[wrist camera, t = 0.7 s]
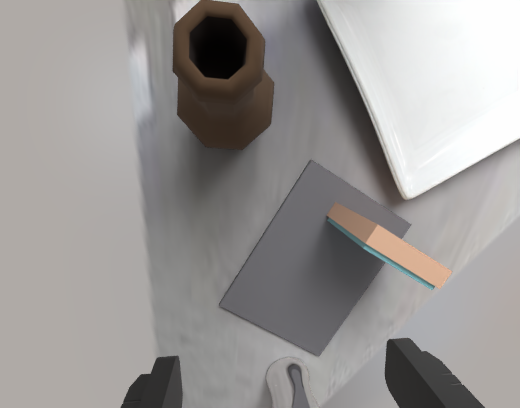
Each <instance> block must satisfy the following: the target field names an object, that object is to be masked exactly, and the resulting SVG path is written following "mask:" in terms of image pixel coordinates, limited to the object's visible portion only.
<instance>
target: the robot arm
mask: <svg viewBox="0 0 520 408" xmlns="http://www.w3.org/2000/svg"><path fill="white" fill-rule="evenodd" d="M385 363H386V364H385V380H386V384H387V386H388V389H389V391H390V393H391V394H392V396H393V398H394V400H395V401H396V403H397V404H398V406H399V408H485V407H484V406H483V405H482V404H481V403H480V402H479V401H478V400H477V399H476V398H475V397H474V396H473V395H472V393H471V392H470V391H468V389H467V388H466V387H465V386H464V385H462V384H461V382H460V381H459V380H458V379H457V377H456V376H455V375H452V372H451V371H450V370H449V369H448V368H447V367H446V366H445V365H444V364H443V363H442V361H440V360H439V359H437V358H436V357H434V356H433V355H431V354H430V353H428V352H427V351H423V352H422V351H421V350H420V349H419V348H418V347H417V346H416V344H415V343H414V342H413V341H412V340H411V339H409V338H401V339H389V340H388V341H387V349H386V362H385ZM182 396H183V393H182V381H181V371H180V361H179V357H178V356H168V357H158V358H157V359H156V361H155V363H154V366H153V369H152V372H151V374H142V375H140V376H139V377H138V378H137V380H136V381H135V382H134V383H133V384H132V385H131V386H130V387H129V390H128V392H127V394H126V397H125V399H124V402H123V404H122V406H121V408H182Z"/></svg>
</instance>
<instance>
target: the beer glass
mask: <svg viewBox="0 0 520 408" xmlns="http://www.w3.org/2000/svg"><path fill="white" fill-rule="evenodd" d="M266 382H267V385H268V388H269V390H270V393H271V396H272V403H273V408H320V406H319V405H318V403H317V401H316V399H315V397H314V395H313V393H312V390H311V387H310V379H309V372H308V369H307V367H306V365H305V364H304V363H303V362H302V361H301V360H299V359H296V358H291V357H287V358H282V359H279V360H277V361H276V362H274V363H273V364H272V365H271V366H270V368H269V369H268V371H267V375H266Z"/></svg>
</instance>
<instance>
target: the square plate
mask: <svg viewBox="0 0 520 408" xmlns="http://www.w3.org/2000/svg"><path fill="white" fill-rule="evenodd" d="M317 3H318V5H319V7H320V9H321V12H322V14H323V16H324V18H325V20H326V22H327V24H328V26H329V28H330V30H331V33H332V35H333V37H334V39H335V41H336V43H337V45H338V47H339V49H340V51H341V53H342V55H343V58H344V60H345V62H346V64H347V66H348V68H349V71H350V73H351V75H352V77H353V79H354V81H355V84H356V86H357V88H358V90H359V93H360V95H361V97H362V100H363V102H364V104H365V107H366V109H367V111H368V114H369V116H370V119H371V121H372V124H373V126H374V129H375V131H376V134H377V137H378V139H379V142H380V145H381V147H382V150H383V153H384V155H385V158H386V161H387V163H388V166H389V169H390V171H391V174H392V176H393V179H394V181H395V184H396V186H397V189H398V191H399V193H400V195H401V197H402V198H403V199H404V200H410V199H412V198H414V197H416V196H418V195H420V194H422V193H424V192H426V191H428V190H429V189H431V188H433V187H435V186H437V185H438V184H440V183H442V182H444V181H445V180H447V179H449V178H451V177H452V176H454V175H456V174H458V173H459V172H461V171H463V170H465V169H466V168H468V167H470V166H472V165H473V164H475V163H477V162H479V161H480V160H482V159H484V158H486V157H488V156H489V155H491V154H493V153H495V152H497V151H498V150H500V149H502V148H504V147H506V146H508V145H509V144H511V143H513V142H515V141H517V140H519V139H520V0H317Z"/></svg>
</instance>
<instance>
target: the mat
mask: <svg viewBox="0 0 520 408" xmlns="http://www.w3.org/2000/svg"><path fill="white" fill-rule="evenodd" d="M335 202H336V203H338V204H340V205H342V206H344V207H346V208H348V209H350V210H352V211H353V212H355V213H357V214H359V215H361V216H363V217H365V218H367V219H369V220H370V221H372V222H374V223H376V224H378V225H380V226H381V227H383V228H384V229H386V230H387V231H389V232H391V233H392V234H394V235H395V236H397V237H398V238H400V239H402V238H403V236H404V235H405V233H406V232H407V230H408V229H409V228H410V226H411V224H410V223H408V222H406V221H405V220H403V219H402V218H400V217H399V216H397V215H396V214H394V213H393V212H391V211H390V210H388V209H386V208H385V207H383V206H382V205H380V204H379V203H377V202H376V201H374V200H373V199H371V198H370V197H368V196H366V195H365V194H363V193H362V192H360V191H359V190H357V189H356V188H354V187H353V186H351V185H350V184H348V183H346V182H345V181H343V180H342V179H340V178H339V177H337V176H336V175H334V174H333V173H331V172H330V171H328V170H326V169H325V168H323V167H322V166H320V165H319V164H317V163H316V162H314V161H313V160H310V161H309V163H308V165H307V166H306V168H305V169H304V171H303V172H302V174H301V176H300V177H299V179H298V180H297V182H296V183H295V185H294V187H293V188H292V190H291V191H290V193H289V195H288V196H287V198H286V199H285V201H284V202H283V204H282V206H281V207H280V209H279V210H278V212H277V213H276V215H275V217H274V218H273V220H272V221H271V223H270V224H269V226H268V228H267V229H266V231H265V232H264V234H263V236H262V237H261V239H260V240H259V242H258V243H257V245H256V247H255V248H254V250H253V251H252V253H251V254H250V256H249V258H248V259H247V261H246V262H245V264H244V266H243V267H242V269H241V270H240V272H239V273H238V275H237V277H236V278H235V280H234V281H233V283H232V284H231V286H230V288H229V289H228V291H227V292H226V294H225V295H224V297H223V299H222V300H221V302H220V303H219V306H221V307H223V308H225V309H227V310H229V311H231V312H233V313H235V314H236V315H238V316H240V317H242V318H244V319H246V320H248V321H250V322H252V323H254V324H256V325H258V326H260V327H262V328H264V329H266V330H268V331H270V332H272V333H274V334H276V335H278V336H280V337H282V338H284V339H286V340H288V341H290V342H292V343H293V344H295V345H297V346H299V347H301V348H303V349H305V350H307V351H309V352H311V353H313V354H315V355H317V356H320V355H321V353H322V352H323V350H324V349H325V347H326V346H327V345H328V343H329V342H330V340H331V339H332V337H333V336H334V335H335V333H336V332H337V330H338V329H339V327H340V326H341V325H342V323H343V322H344V320H345V319H346V317H347V316H348V315H349V313H350V312H351V310H352V309H353V307H354V306H355V305H356V303H357V302H358V300H359V299H360V298H361V296H362V295H363V293H364V292H365V290H366V289H367V288H368V286H369V285H370V283H371V282H372V280H373V279H374V278H375V276H376V275H377V273H378V272H379V270H380V269H381V268H382V266H383V265H384V263H385V261H383V260H381V259H380V258H378V257H377V256H375V255H373V254H372V253H370V252H368V251H367V250H365V249H363V248H362V247H361V246H359V245H358V244H357V243H356V242H354V241H353V240H352V239H350V238H349V237H348V236H347V235H345V234H344V233H343V232H341V231H340V230H339V229H338V228H336V227H335V226H334V225H332V224H331V223H330V222H329V221H327V220H328V218H329V217H328V216H327V214H328V212H329V211H330V209H331V208H332V206H333V205H334V203H335Z"/></svg>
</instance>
